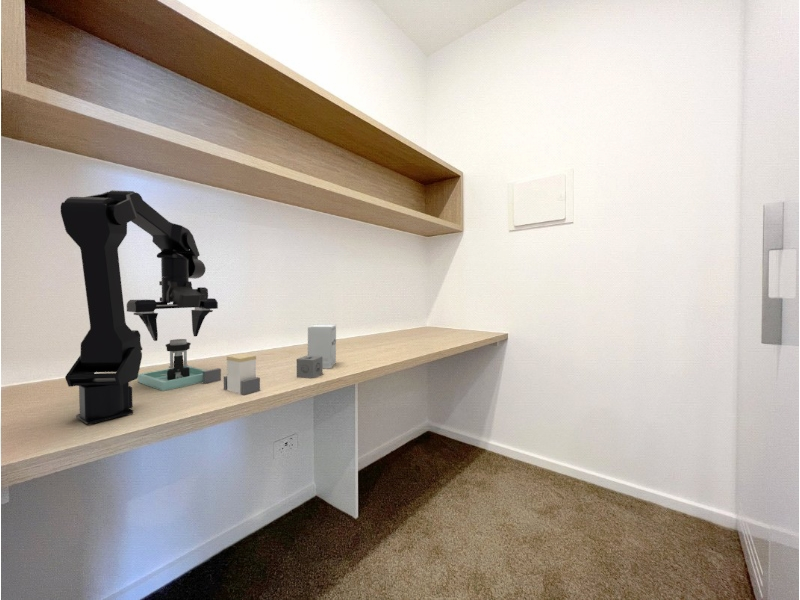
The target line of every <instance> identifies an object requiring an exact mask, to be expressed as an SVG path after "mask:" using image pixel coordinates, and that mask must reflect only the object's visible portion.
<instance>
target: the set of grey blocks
mask: <svg viewBox="0 0 800 600" xmlns="http://www.w3.org/2000/svg"><path fill="white" fill-rule="evenodd" d="M219 381H220V382H221V381H222V368H220V367H217V368H214V369H208V370H207V371H203V382H202V384H205V385H206V384H210V383H211V384H212V383H214V382H219ZM223 390H225V391H227V375H225V376H223ZM259 391H261V378H260V377H258V376H256V378H251V379H247V380H243V381H241V394H240V395H243V396H245V395H248V394H252V393H253V394H254V393H256V392H259Z"/></svg>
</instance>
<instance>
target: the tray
mask: <svg viewBox="0 0 800 600" xmlns="http://www.w3.org/2000/svg"><path fill="white" fill-rule="evenodd" d="M188 367H189V368H190V376H188V377H183V378H178V379H173V380H167V379H160V378H166V377H167V375H162V374H167V371H168V369H169V368H165V369H160V370H155V371H150V372H144V373H143V372H141V373H138V378H137V383H140V384H141V385H142V384H143V385H144V386H148V387H150V388H154V389H155V390H156V389H157V390H159V391H163V392H165V391H169V390H174V389H178V388H182V387H187V386H192V385H196V384H201V383H203V371H207V370H206V369H204V368H199V367H195V366H190V365H188ZM170 369H172V368H170ZM159 375H161V376H159Z"/></svg>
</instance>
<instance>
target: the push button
mask: <svg viewBox="0 0 800 600" xmlns="http://www.w3.org/2000/svg"><path fill="white" fill-rule="evenodd" d="M191 344H192V343H191V342H188V341H187V339H186V338H177V339H170V340H169V343H167V344H165V348H166V352H169V366H168V368H167V369H168V371H167V374H162V375H167V377H166V378H160V379H167V380H173V379H178V378H183V377H188V376H190V368H189V367H188V366H189V365H188V356H187V355H188V354H187V353H188V351H189V350H190V346H191ZM171 368H172V369H171ZM159 376H161V375H159Z"/></svg>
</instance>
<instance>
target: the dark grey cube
mask: <svg viewBox="0 0 800 600" xmlns="http://www.w3.org/2000/svg"><path fill="white" fill-rule="evenodd" d="M323 373H324V371H323V363H322V356H308V355H304V356H302V357H299V358H296V377H297V378H304V379H313V380H314V379H315V378H317V377H319V376H321V375H323Z"/></svg>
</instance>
